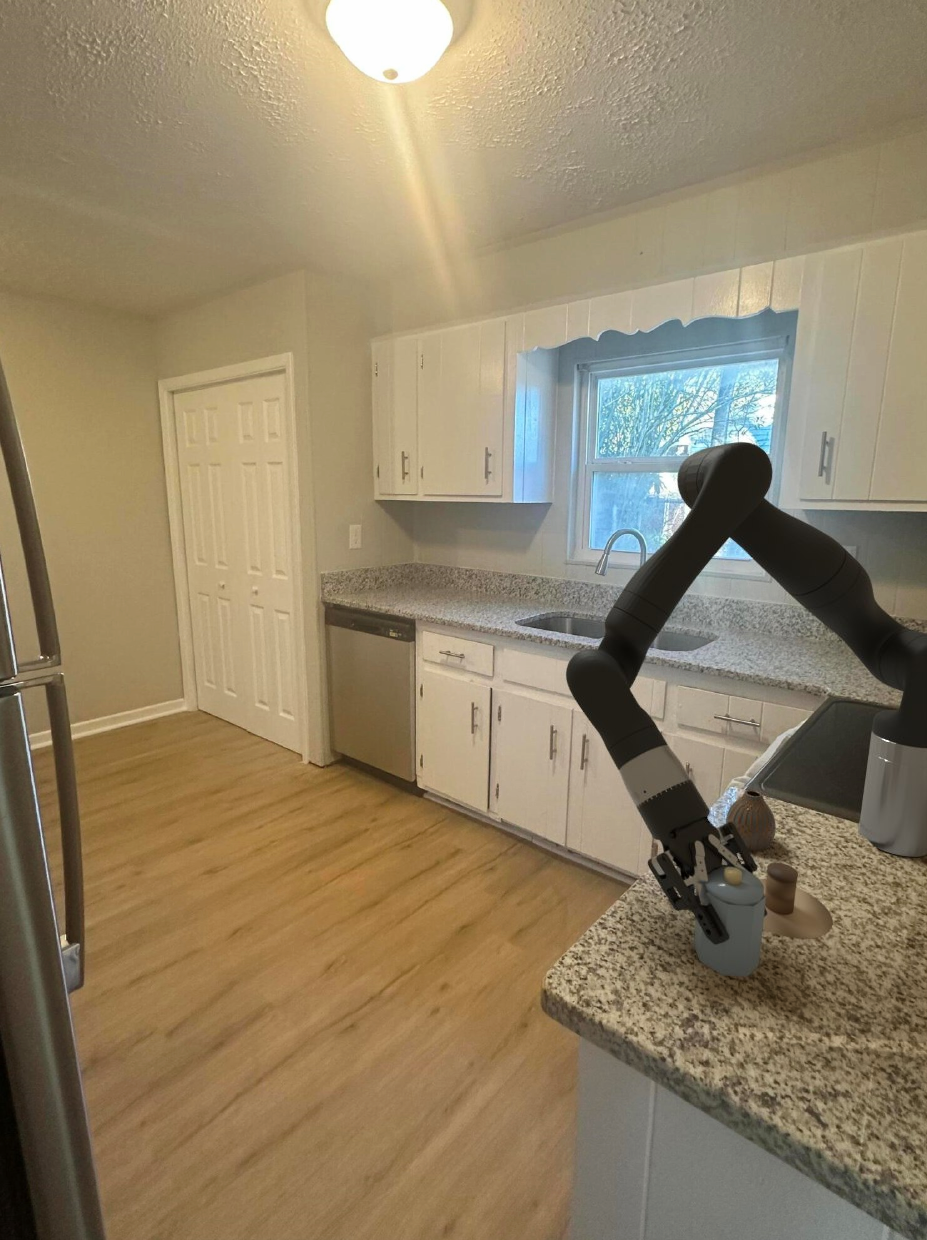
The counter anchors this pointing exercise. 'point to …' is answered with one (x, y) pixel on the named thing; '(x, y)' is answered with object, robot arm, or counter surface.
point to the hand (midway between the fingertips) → (741, 929)
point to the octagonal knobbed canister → (733, 921)
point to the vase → (753, 820)
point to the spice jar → (780, 888)
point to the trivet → (799, 918)
